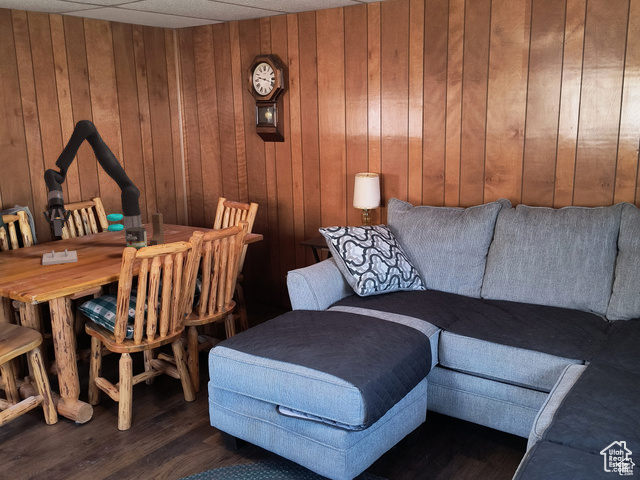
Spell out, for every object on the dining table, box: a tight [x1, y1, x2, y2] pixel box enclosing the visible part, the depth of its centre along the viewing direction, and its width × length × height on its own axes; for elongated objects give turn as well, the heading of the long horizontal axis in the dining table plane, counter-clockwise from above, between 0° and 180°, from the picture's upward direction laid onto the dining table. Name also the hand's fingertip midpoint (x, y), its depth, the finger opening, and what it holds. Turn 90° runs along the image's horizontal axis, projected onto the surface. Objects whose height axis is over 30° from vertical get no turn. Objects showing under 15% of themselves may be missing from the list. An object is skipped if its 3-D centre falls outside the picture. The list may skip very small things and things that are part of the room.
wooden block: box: [149, 212, 165, 247], centre depth 333 cm, size 9×4×18 cm, turn 169°
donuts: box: [105, 213, 125, 232], centre depth 382 cm, size 10×10×10 cm
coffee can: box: [126, 227, 148, 250], centre depth 313 cm, size 10×10×14 cm
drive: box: [53, 217, 64, 237], centre depth 310 cm, size 5×4×8 cm
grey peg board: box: [42, 248, 78, 266], centre depth 308 cm, size 20×16×4 cm
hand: (58, 227), depth 308 cm, fingers closed on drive, 3 cm apart
